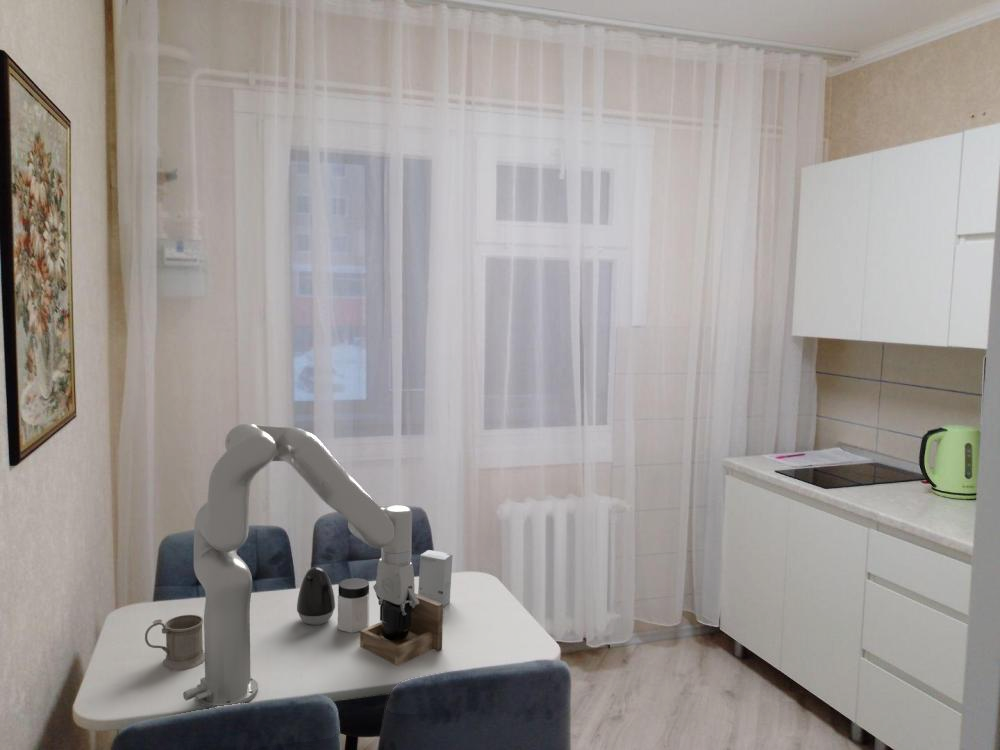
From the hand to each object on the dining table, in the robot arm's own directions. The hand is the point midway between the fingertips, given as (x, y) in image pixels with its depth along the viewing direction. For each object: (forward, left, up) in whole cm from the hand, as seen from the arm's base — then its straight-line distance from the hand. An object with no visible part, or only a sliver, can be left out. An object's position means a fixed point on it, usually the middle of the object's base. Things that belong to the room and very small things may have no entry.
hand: (395, 623), depth 189 cm
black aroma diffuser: (-4, +28, -7) cm, 29 cm away
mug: (-41, +33, -7) cm, 53 cm away
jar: (+1, +18, -7) cm, 19 cm away
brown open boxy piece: (+1, 0, -7) cm, 7 cm away
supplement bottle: (0, 0, -3) cm, 3 cm away
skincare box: (+27, +13, -7) cm, 31 cm away
